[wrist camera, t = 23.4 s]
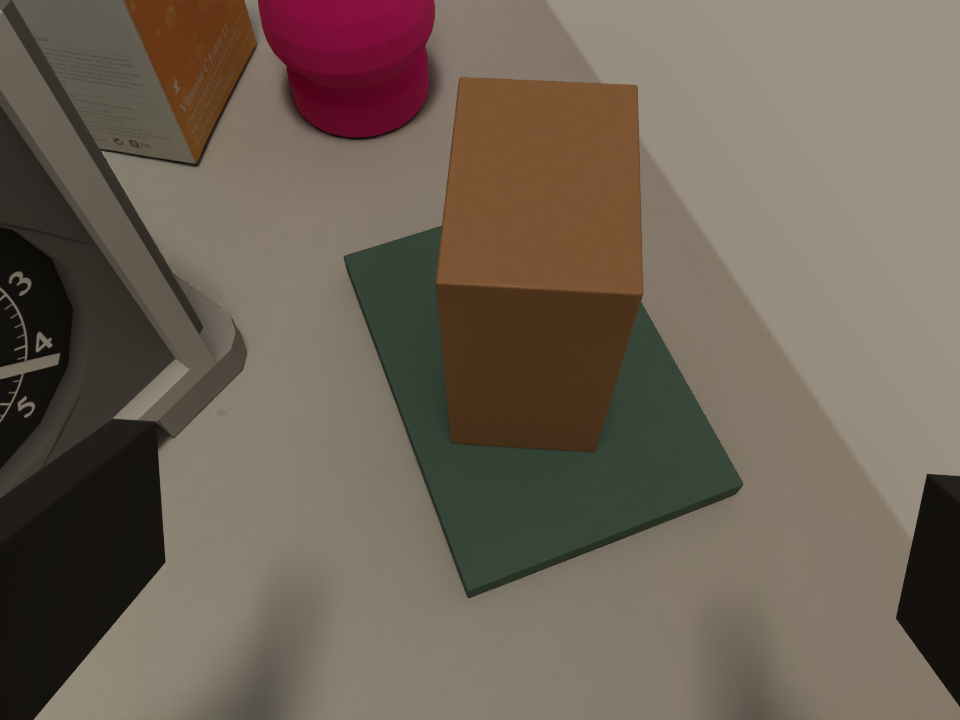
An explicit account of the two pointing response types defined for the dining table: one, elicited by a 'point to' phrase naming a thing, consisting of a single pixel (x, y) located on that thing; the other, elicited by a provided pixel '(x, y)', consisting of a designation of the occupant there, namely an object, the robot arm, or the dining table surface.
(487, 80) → the brown packet
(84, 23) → the small box
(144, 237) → the alarm clock
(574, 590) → the dining table surface
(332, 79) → the pepper mill
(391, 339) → the mat
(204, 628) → the dining table surface
